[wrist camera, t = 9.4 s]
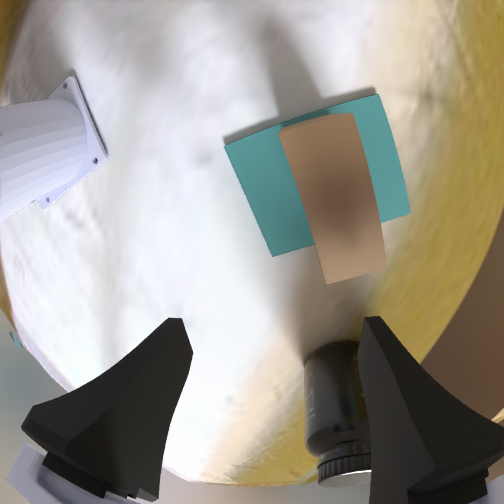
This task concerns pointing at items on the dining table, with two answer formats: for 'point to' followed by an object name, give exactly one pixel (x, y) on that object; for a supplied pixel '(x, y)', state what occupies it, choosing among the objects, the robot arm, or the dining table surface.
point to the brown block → (336, 194)
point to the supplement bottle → (337, 416)
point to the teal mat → (284, 186)
